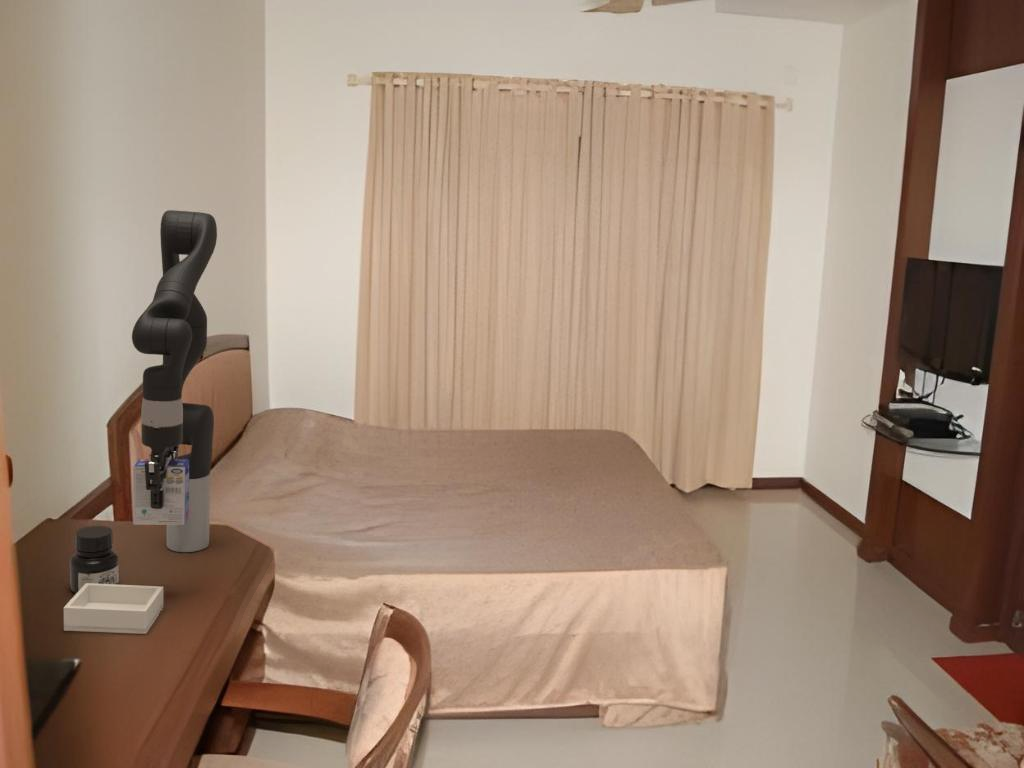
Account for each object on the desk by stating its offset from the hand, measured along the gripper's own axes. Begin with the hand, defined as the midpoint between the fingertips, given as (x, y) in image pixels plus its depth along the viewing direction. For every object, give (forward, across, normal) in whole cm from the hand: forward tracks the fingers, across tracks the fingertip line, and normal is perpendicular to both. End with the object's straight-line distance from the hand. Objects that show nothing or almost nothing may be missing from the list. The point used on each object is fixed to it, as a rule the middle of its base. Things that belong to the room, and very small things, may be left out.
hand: (161, 502), depth 181 cm
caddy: (+20, +11, -5) cm, 23 cm away
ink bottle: (+20, -2, -14) cm, 24 cm away
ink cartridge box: (+4, 0, 0) cm, 4 cm away
